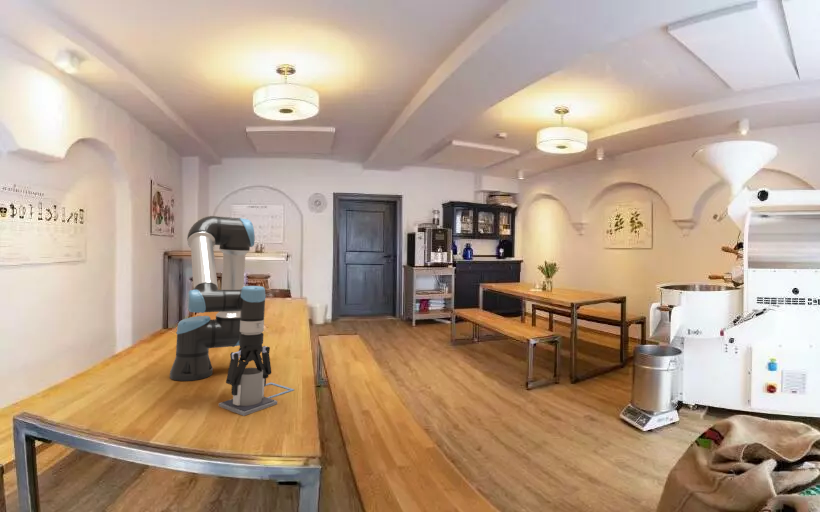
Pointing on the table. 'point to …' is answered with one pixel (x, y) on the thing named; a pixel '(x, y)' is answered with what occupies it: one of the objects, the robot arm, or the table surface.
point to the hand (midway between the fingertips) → (248, 400)
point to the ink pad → (247, 409)
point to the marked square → (281, 387)
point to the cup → (251, 387)
